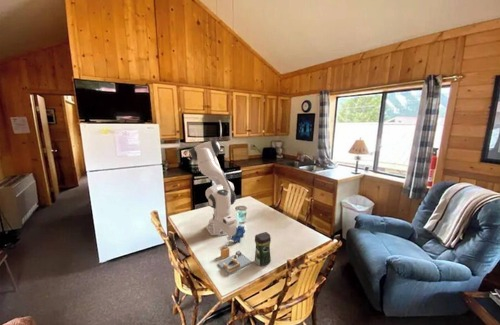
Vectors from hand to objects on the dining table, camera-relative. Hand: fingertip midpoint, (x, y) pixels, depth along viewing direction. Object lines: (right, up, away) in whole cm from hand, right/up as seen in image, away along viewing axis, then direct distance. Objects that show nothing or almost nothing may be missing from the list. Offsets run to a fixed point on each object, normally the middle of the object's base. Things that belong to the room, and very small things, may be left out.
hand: (225, 236), depth 133 cm
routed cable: (+6, -13, -1) cm, 15 cm away
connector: (0, -14, +3) cm, 14 cm away
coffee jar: (+24, -15, -2) cm, 28 cm away
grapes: (+7, -10, +21) cm, 24 cm away
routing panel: (+6, -15, -4) cm, 17 cm away
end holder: (+5, -15, -9) cm, 18 cm away
